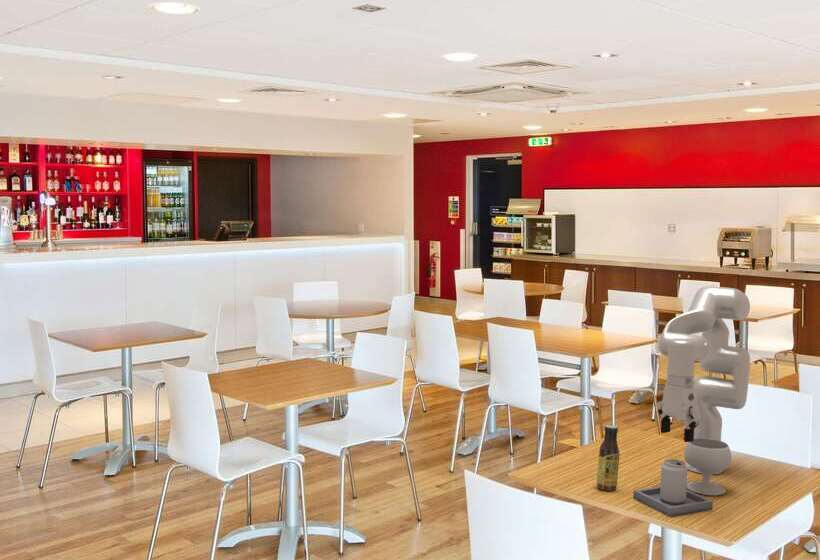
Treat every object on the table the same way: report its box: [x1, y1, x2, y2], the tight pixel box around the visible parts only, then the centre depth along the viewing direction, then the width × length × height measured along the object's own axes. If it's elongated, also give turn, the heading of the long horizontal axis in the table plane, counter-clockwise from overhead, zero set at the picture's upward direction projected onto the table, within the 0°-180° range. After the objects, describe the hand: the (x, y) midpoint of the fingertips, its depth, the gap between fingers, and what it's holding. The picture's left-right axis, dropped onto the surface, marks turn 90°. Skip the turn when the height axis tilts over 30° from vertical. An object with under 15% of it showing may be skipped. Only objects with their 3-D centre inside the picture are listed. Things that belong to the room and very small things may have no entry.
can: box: [659, 458, 689, 504], centre depth 257 cm, size 8×8×12 cm
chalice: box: [683, 438, 732, 496], centre depth 270 cm, size 14×14×15 cm
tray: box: [632, 485, 714, 518], centre depth 257 cm, size 16×16×2 cm
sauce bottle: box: [596, 424, 621, 492], centre depth 268 cm, size 6×6×20 cm
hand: (676, 436), depth 255 cm, fingers open, 9 cm apart
